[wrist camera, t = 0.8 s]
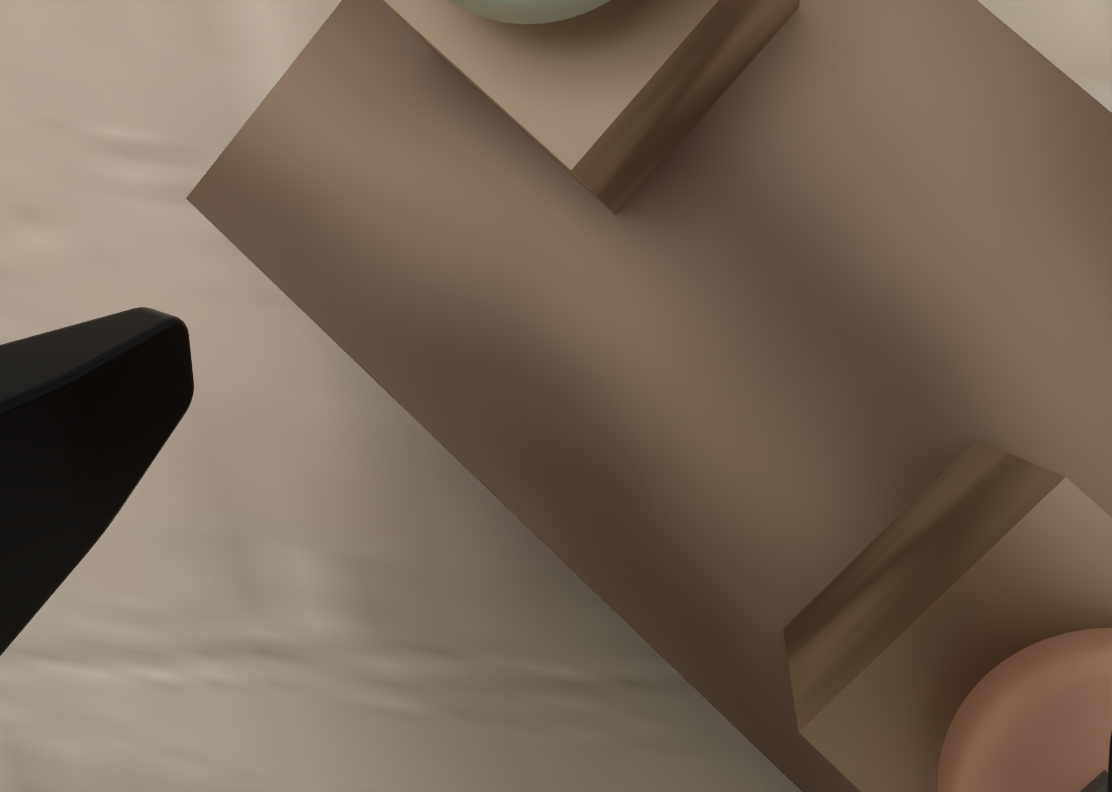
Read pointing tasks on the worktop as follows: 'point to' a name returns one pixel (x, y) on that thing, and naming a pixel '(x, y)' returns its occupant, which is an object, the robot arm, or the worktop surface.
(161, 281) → the worktop surface
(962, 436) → the console
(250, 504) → the worktop surface
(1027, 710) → the button
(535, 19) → the button
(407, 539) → the worktop surface
